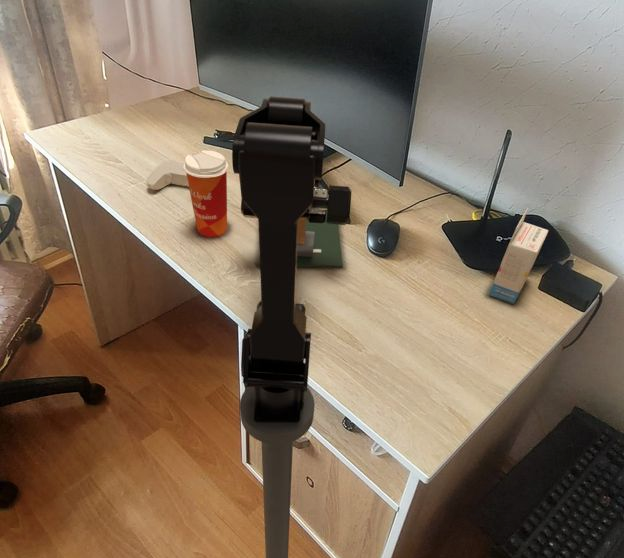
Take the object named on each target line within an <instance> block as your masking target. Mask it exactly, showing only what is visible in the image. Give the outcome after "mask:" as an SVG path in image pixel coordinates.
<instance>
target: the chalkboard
mask: <svg viewBox="0 0 624 558" xmlns="http://www.w3.org/2000/svg"><path fill="white" fill-rule="evenodd" d="M326 220H327V211H326ZM339 228H340V227H339V225H337V224H329V223H326V221H325V222H324V223H310V222H309V221H308V220H307V219H306V231H310V232H315V235H314V247H313V256H312V257H303V256H297V268H322V269H344V267H343V266H344V264H343V255H342V254H343V253H342V245H341V238H340V229H339ZM258 259H259V260H258V266H259V267H260V257H259V258H258Z"/></svg>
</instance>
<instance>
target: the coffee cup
mask: <svg viewBox="0 0 624 558" xmlns="http://www.w3.org/2000/svg"><path fill="white" fill-rule="evenodd" d="M183 163H184V166H183V168H184V171H185V172H186V174H187V180H188V185H189V187H188V189H189V194H190V199H191V200H190V201H191V204H192V210H193V214H194V219H195V224H196V228H197V232H198V233H199V234H200V235H201V236H203V237H206V238H216V237H220V236H222V235H224V234H225V233H226V232H227V230H228V180H227V179H228V178H227V177H228V175H227V171H228V170H229V164H228V162H227V160H226V158H225V156H224V155H223V154H222V153H220V152H218V151H214V150H205V149H204V150H200V151H195V152H193V153H192V154H190V153H189V154H188V155H187V156H186V157H185V160H184V162H183Z"/></svg>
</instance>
